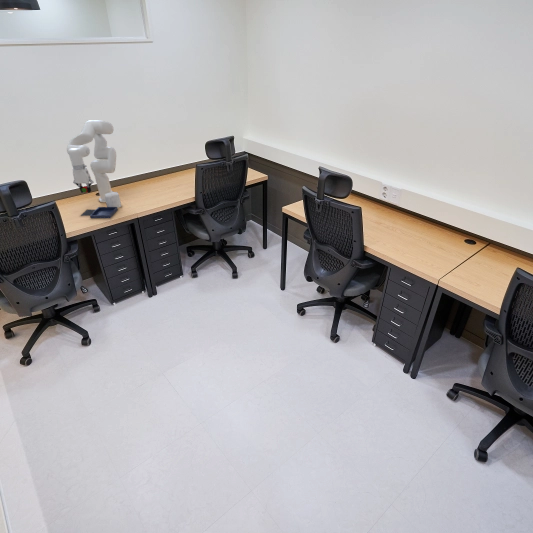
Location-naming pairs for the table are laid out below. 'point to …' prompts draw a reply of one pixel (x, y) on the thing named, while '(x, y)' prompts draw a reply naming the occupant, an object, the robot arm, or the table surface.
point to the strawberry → (84, 189)
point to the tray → (104, 212)
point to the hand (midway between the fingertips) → (86, 191)
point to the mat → (87, 212)
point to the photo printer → (113, 199)
